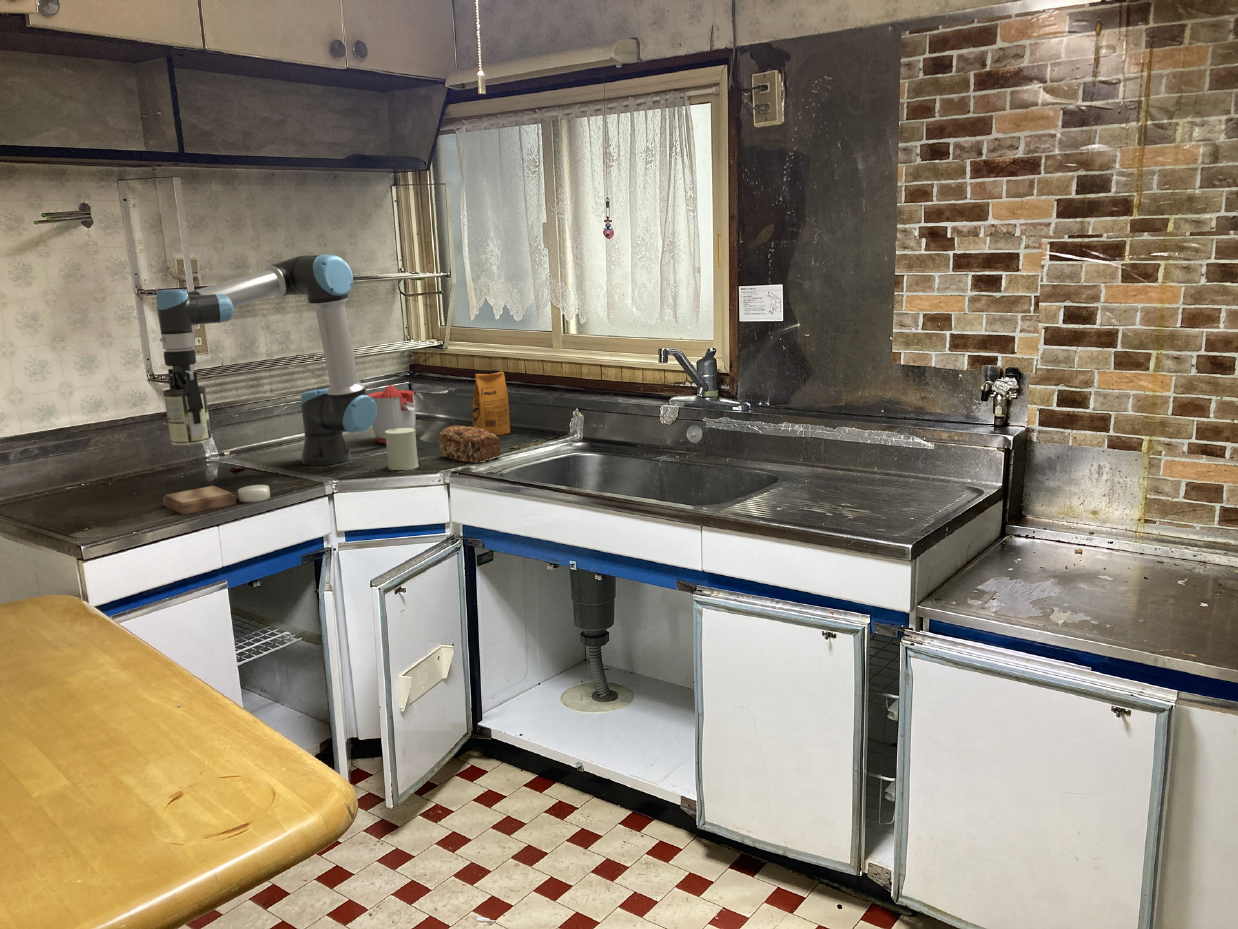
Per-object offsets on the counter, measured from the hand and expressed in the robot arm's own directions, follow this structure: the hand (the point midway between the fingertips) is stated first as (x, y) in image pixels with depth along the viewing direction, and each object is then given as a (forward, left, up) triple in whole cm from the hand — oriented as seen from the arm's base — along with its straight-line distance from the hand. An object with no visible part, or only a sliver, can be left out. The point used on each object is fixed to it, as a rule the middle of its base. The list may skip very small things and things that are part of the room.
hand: (190, 433), depth 257 cm
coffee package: (-109, -18, -20) cm, 112 cm away
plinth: (0, 0, -20) cm, 20 cm away
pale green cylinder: (-60, +4, -20) cm, 63 cm away
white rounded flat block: (-13, +5, -20) cm, 24 cm away
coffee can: (0, 0, -2) cm, 2 cm away
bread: (-81, +9, -20) cm, 84 cm away
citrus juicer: (-80, -34, -20) cm, 89 cm away
